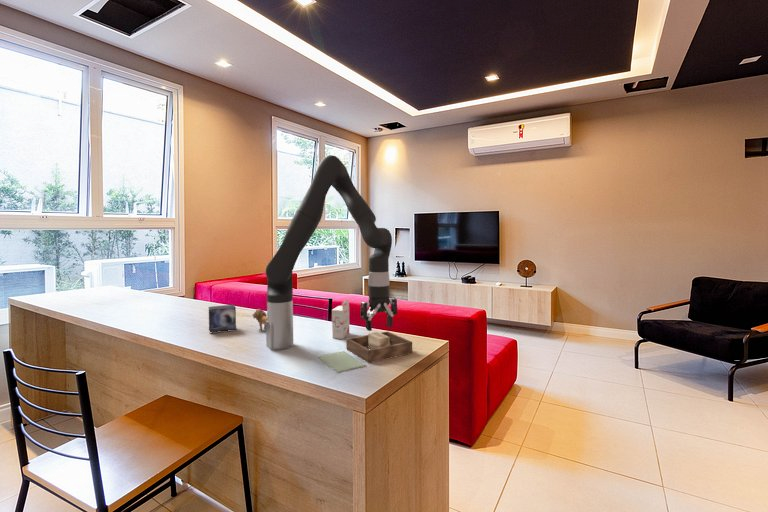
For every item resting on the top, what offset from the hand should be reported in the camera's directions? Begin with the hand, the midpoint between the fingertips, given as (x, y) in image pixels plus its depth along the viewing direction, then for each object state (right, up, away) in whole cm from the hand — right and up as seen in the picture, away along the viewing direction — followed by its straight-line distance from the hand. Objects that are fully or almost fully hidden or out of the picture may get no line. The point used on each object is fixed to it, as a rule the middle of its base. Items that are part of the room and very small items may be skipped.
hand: (379, 328), depth 131 cm
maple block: (0, -8, 0) cm, 8 cm away
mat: (-13, -9, -10) cm, 18 cm away
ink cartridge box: (-16, -7, +20) cm, 26 cm away
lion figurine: (-50, -7, +27) cm, 57 cm away
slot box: (0, -8, 0) cm, 8 cm away
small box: (-69, -7, +28) cm, 74 cm away
